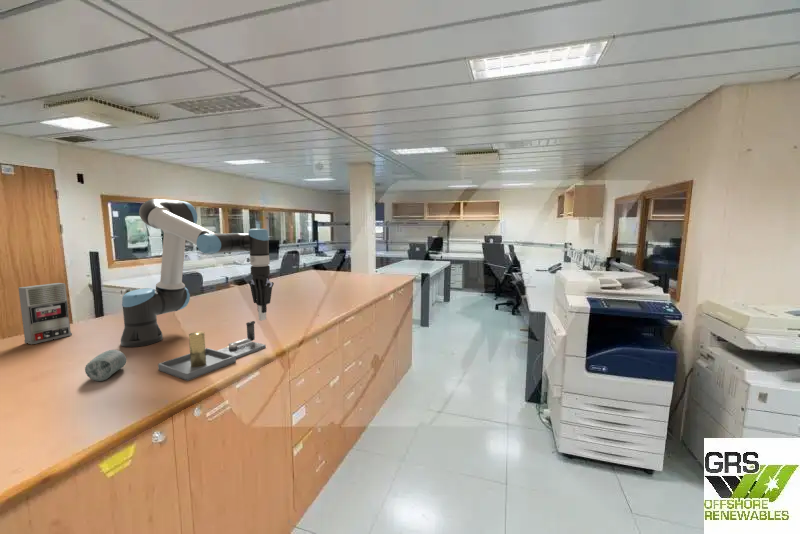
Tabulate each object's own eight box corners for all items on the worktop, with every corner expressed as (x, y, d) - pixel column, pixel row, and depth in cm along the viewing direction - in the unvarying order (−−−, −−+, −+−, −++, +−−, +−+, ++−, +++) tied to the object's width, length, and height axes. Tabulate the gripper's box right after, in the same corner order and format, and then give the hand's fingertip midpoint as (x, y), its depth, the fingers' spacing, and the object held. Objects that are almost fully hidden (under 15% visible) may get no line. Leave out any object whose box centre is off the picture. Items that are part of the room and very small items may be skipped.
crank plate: (213, 354, 138) (213, 351, 138) (247, 342, 152) (247, 339, 152) (232, 360, 133) (232, 356, 133) (265, 347, 147) (265, 344, 147)
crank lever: (232, 350, 139) (231, 328, 138) (227, 348, 141) (225, 327, 140) (257, 341, 151) (257, 321, 150) (253, 339, 152) (252, 320, 151)
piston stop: (187, 365, 126) (185, 334, 124) (201, 360, 130) (199, 330, 128) (196, 368, 123) (194, 336, 122) (209, 363, 128) (207, 332, 126)
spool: (112, 374, 111) (99, 347, 112) (83, 389, 110) (70, 362, 110) (139, 367, 125) (127, 343, 125) (113, 380, 123) (101, 356, 124)
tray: (158, 370, 122) (158, 363, 122) (207, 353, 139) (207, 347, 139) (187, 381, 114) (186, 374, 114) (235, 362, 131) (235, 355, 131)
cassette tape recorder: (32, 345, 146) (25, 288, 143) (24, 343, 148) (17, 287, 145) (72, 335, 159) (66, 283, 156) (64, 334, 161) (59, 282, 158)
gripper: (242, 265, 141) (244, 319, 144) (263, 267, 136) (266, 323, 138) (256, 263, 148) (259, 315, 151) (278, 265, 142) (280, 319, 145)
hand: (262, 319), depth 145 cm, fingers closed
